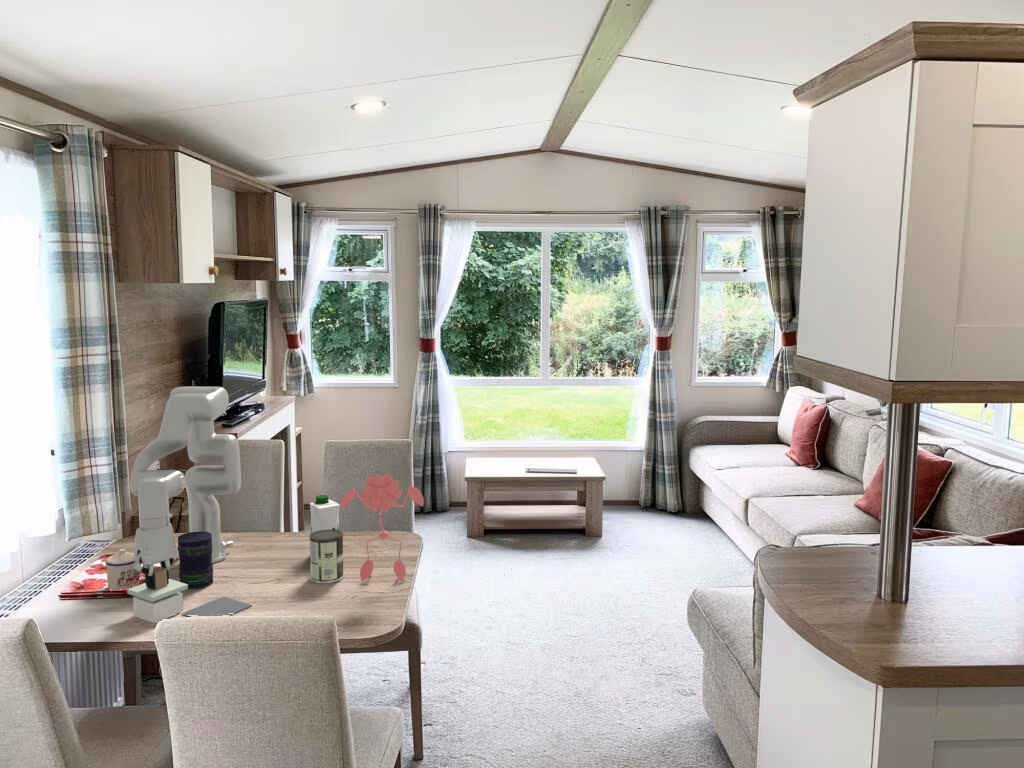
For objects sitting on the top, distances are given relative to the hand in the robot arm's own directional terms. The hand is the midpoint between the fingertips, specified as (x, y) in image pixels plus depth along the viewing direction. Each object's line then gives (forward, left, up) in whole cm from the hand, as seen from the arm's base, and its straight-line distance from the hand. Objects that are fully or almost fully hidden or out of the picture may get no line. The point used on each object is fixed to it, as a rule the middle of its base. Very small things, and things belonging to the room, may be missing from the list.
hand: (157, 585), depth 215 cm
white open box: (0, 0, -8) cm, 8 cm away
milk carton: (-60, +5, -8) cm, 61 cm away
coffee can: (-45, +20, -8) cm, 50 cm away
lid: (0, 0, -2) cm, 2 cm away
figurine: (-50, +38, -8) cm, 63 cm away
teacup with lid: (-8, -26, -8) cm, 28 cm away
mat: (-10, +12, -8) cm, 18 cm away
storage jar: (-20, -10, -8) cm, 24 cm away
